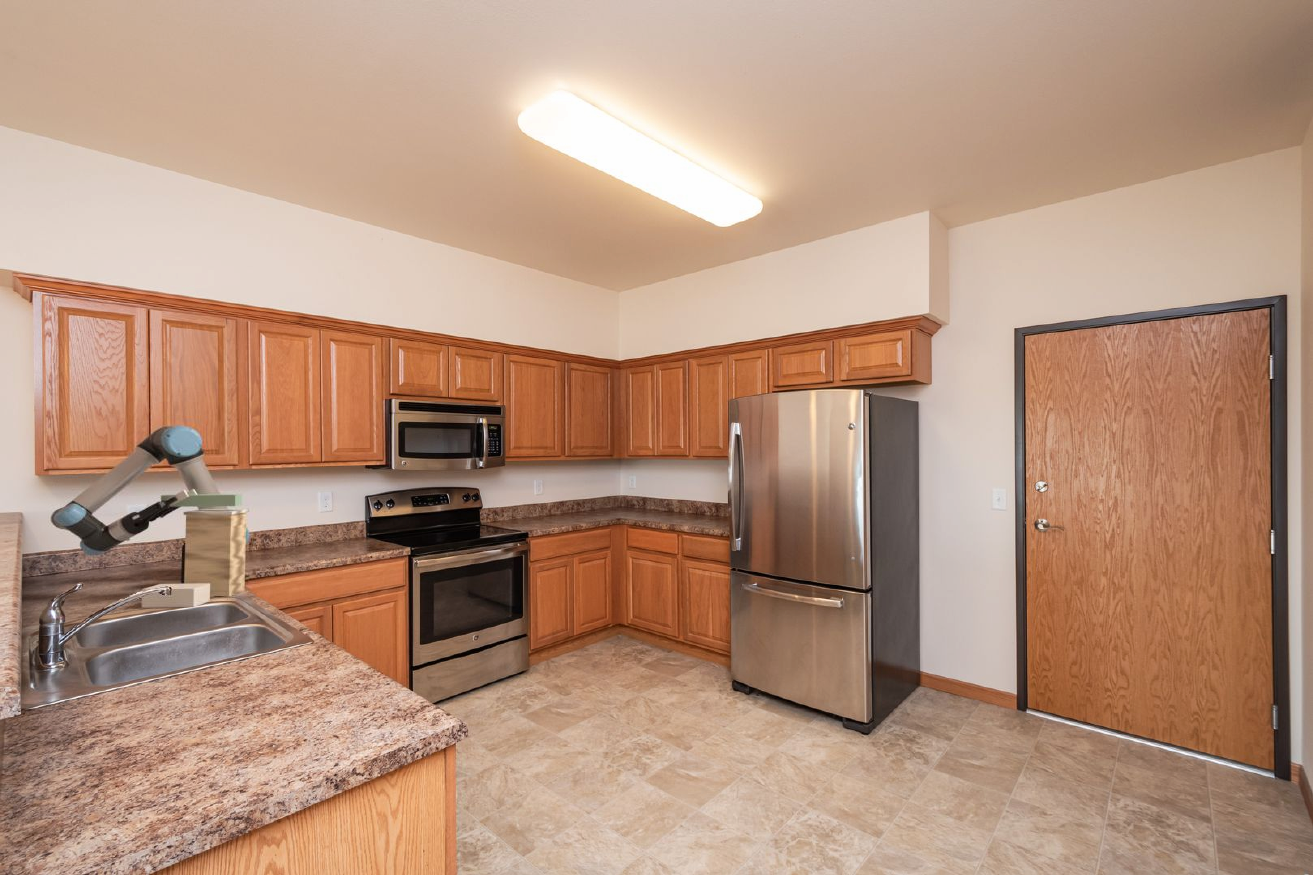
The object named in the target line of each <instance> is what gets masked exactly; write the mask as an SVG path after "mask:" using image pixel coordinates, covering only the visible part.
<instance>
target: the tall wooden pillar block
mask: <svg viewBox="0 0 1313 875" xmlns="http://www.w3.org/2000/svg"><path fill="white" fill-rule="evenodd" d="M247 513H249V509H247V508H245V509H244V508H241V509H239V508H234V509H233V508H230V509H229V508H228V509H201V510H199V509H195V510H189V511H183V515H184V516H185V538H184V539H185V572H184V584H197V583H210V598H215V597H214V596H230V597H232V595H233V596H235V595H237V594H240V593H242V592H245V590H246V589H245V588H246V587H245V584H246V582H245V581H246V580H245V579H246V578H245V577H246V550H247V549H246V547H247V546H246V545H247V543H246V528H247Z"/></svg>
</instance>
